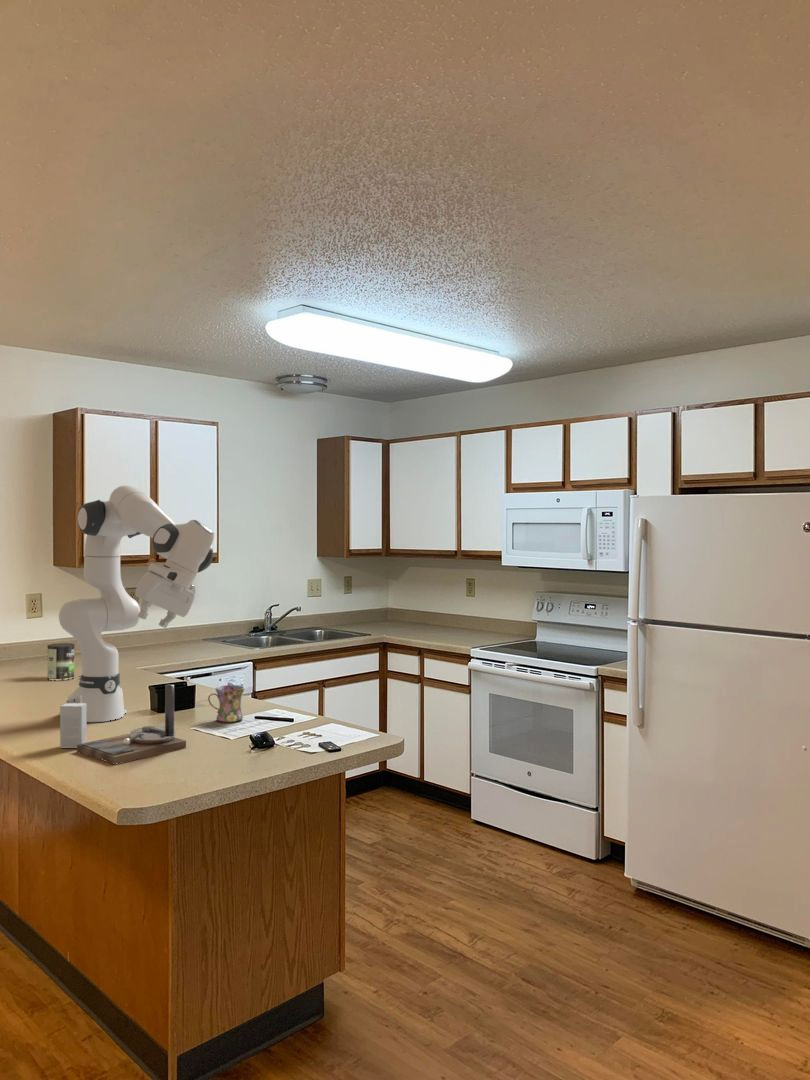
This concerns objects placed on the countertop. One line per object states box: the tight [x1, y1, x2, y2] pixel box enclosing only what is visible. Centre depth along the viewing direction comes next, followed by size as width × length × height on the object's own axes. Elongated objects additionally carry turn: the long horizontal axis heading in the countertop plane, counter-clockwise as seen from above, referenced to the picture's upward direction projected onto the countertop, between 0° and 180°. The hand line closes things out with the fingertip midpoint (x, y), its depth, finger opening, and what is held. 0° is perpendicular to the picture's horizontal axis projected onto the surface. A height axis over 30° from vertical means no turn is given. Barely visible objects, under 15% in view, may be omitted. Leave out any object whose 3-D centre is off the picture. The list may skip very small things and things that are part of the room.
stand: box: [76, 732, 187, 765], centre depth 224 cm, size 19×22×2 cm
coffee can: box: [47, 642, 76, 679], centre depth 330 cm, size 10×10×14 cm
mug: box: [207, 684, 246, 723], centre depth 259 cm, size 12×9×11 cm
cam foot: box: [123, 683, 176, 745], centre depth 223 cm, size 14×20×16 cm
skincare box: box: [59, 702, 88, 749], centre depth 226 cm, size 6×4×12 cm
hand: (151, 622), depth 217 cm, fingers open, 8 cm apart
